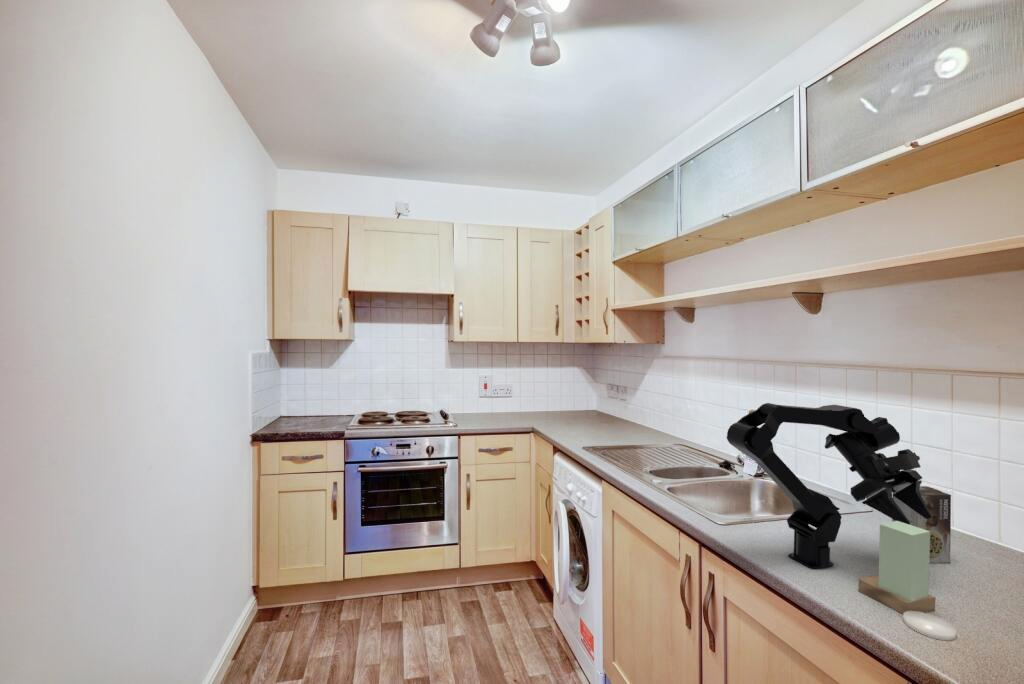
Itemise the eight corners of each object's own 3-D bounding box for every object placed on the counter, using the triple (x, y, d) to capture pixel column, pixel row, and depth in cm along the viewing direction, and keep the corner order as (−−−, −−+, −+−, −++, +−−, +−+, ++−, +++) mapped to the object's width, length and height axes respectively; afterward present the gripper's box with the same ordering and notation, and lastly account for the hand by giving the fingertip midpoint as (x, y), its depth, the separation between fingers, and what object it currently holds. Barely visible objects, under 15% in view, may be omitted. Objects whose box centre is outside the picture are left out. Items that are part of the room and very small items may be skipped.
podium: (858, 590, 94) (858, 578, 94) (884, 585, 97) (885, 574, 97) (907, 616, 86) (907, 603, 86) (935, 610, 88) (935, 597, 88)
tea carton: (878, 587, 91) (879, 524, 91) (895, 582, 93) (897, 520, 93) (910, 602, 86) (912, 535, 86) (928, 596, 88) (930, 531, 88)
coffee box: (925, 551, 114) (927, 485, 114) (951, 563, 107) (953, 494, 107) (889, 550, 113) (891, 485, 113) (913, 563, 107) (915, 494, 107)
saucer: (893, 619, 85) (893, 613, 85) (920, 613, 87) (920, 608, 87) (938, 643, 78) (938, 637, 78) (966, 636, 80) (966, 630, 80)
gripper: (867, 440, 97) (932, 510, 87) (912, 433, 106) (976, 497, 96) (827, 468, 104) (883, 535, 94) (871, 459, 113) (927, 521, 103)
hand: (919, 521), depth 97 cm, fingers open, 9 cm apart
